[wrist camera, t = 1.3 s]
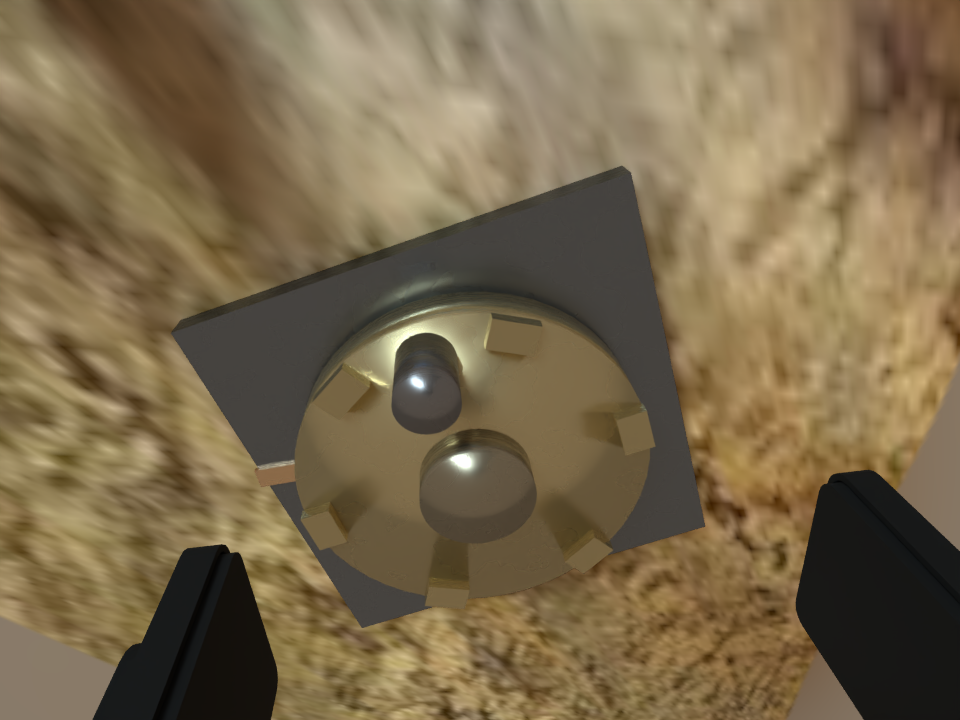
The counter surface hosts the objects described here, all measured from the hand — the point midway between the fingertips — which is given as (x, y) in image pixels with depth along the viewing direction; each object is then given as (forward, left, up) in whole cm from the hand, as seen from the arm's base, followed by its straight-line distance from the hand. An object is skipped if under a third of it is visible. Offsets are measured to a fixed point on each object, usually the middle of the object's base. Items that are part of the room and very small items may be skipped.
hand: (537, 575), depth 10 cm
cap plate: (+4, +13, -24) cm, 28 cm away
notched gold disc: (+4, +13, -23) cm, 27 cm away
